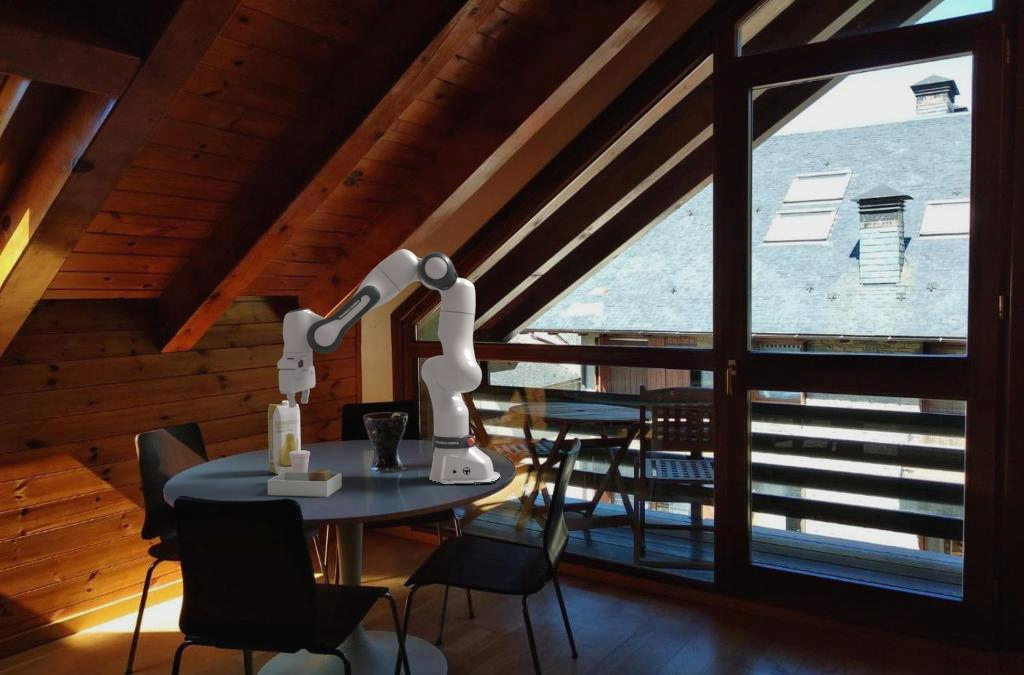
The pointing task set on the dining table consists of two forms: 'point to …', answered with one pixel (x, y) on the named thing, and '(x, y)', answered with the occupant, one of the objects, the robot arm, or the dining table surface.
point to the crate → (303, 485)
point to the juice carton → (282, 435)
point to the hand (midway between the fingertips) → (298, 405)
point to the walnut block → (319, 475)
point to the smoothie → (299, 459)
